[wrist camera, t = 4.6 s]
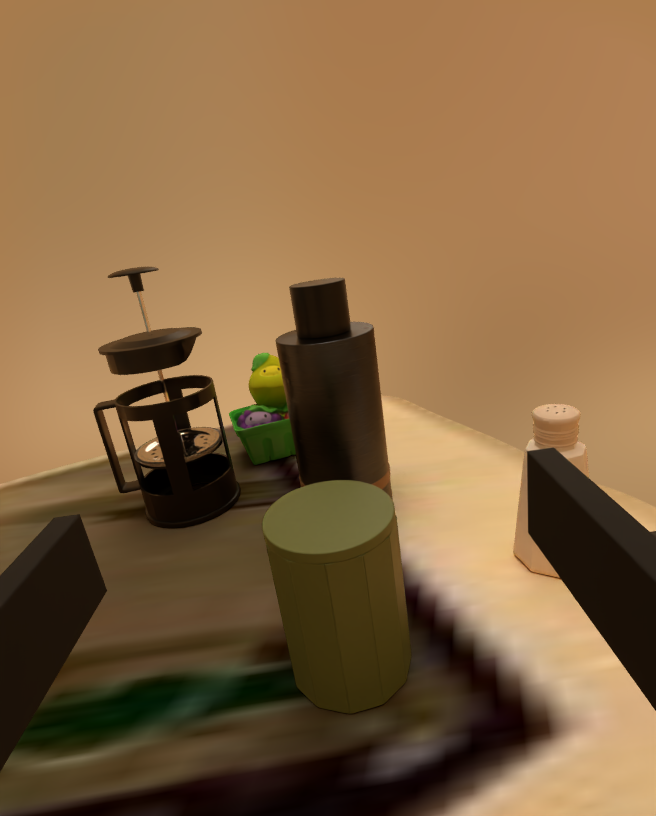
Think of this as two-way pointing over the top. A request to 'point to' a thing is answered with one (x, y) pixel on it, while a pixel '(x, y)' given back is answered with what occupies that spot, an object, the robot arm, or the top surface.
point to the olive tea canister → (340, 592)
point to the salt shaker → (551, 430)
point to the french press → (168, 427)
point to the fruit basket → (265, 414)
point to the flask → (333, 389)
